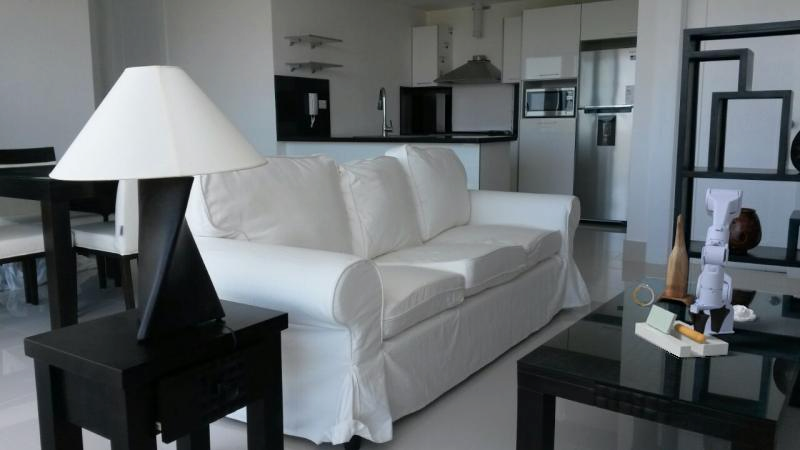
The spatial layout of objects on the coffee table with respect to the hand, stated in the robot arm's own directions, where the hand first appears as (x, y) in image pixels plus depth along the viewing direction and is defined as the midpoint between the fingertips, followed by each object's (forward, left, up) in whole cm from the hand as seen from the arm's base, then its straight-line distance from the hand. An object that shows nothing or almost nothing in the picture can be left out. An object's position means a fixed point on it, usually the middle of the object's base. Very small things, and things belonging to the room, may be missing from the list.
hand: (707, 333), depth 182 cm
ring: (-8, -42, -4) cm, 43 cm away
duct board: (+6, -4, -4) cm, 8 cm away
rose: (-32, -24, -5) cm, 40 cm away
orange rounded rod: (+6, 0, +1) cm, 6 cm away
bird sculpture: (-23, -45, -4) cm, 50 cm away
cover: (+9, -8, +2) cm, 12 cm away
